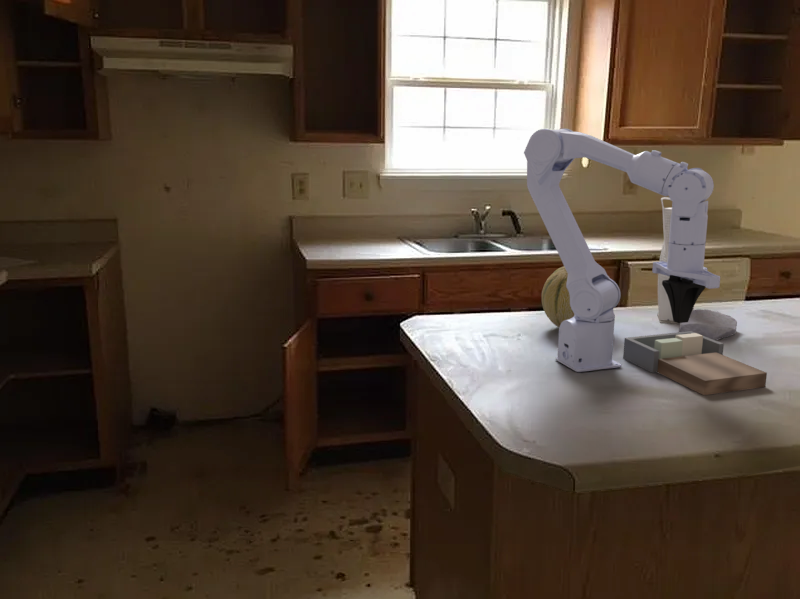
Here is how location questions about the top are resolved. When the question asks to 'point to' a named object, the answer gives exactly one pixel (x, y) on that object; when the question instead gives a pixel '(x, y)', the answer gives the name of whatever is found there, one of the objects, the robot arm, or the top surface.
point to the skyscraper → (663, 299)
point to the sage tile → (669, 347)
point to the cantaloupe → (557, 297)
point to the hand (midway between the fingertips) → (680, 321)
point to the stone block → (709, 324)
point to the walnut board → (711, 373)
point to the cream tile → (691, 343)
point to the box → (647, 356)
